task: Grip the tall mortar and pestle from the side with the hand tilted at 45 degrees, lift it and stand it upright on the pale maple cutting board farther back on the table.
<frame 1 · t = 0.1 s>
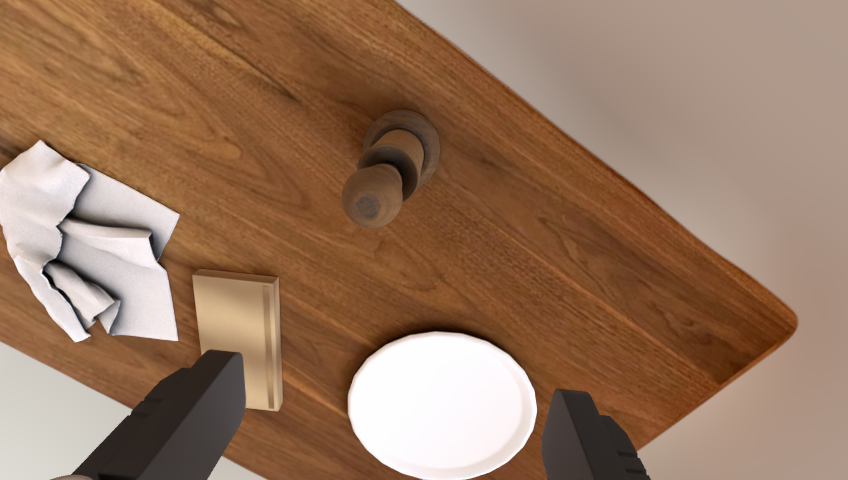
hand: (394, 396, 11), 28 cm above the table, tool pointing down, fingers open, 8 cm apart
cutting board: (244, 339, 44), on the table
cloth: (97, 260, 42), on the table
mortar and pestle: (403, 148, 36), on the table
plate: (441, 404, 46), on the table
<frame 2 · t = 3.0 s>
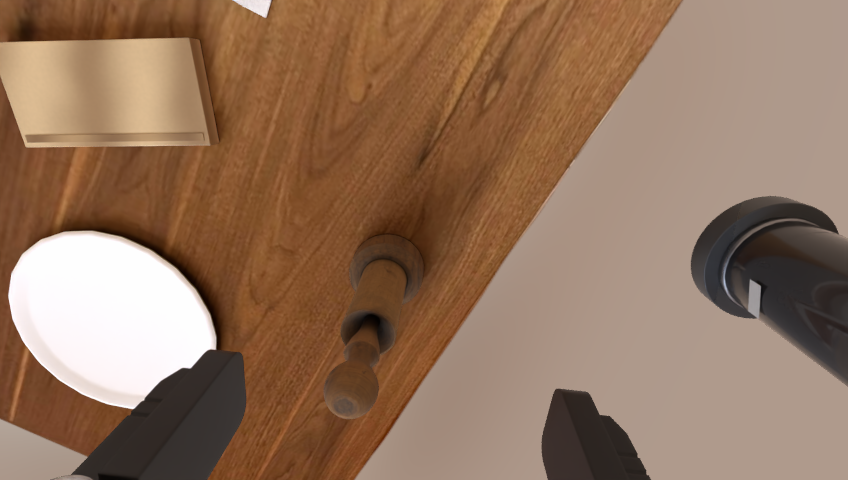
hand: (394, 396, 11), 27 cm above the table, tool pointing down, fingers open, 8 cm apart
cutting board: (116, 94, 34), on the table
mortar and pestle: (388, 264, 39), on the table
plate: (122, 321, 42), on the table
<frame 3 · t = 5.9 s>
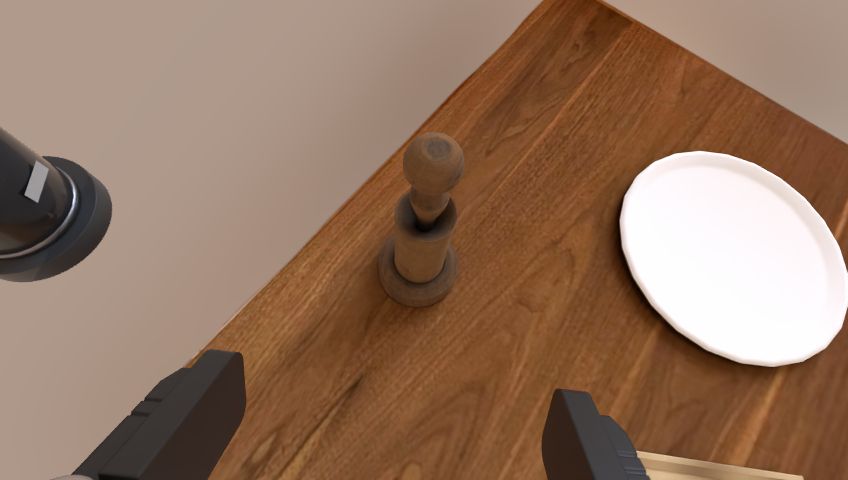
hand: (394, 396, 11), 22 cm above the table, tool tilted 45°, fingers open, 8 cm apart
mortar and pestle: (417, 271, 36), on the table
plate: (723, 252, 38), on the table
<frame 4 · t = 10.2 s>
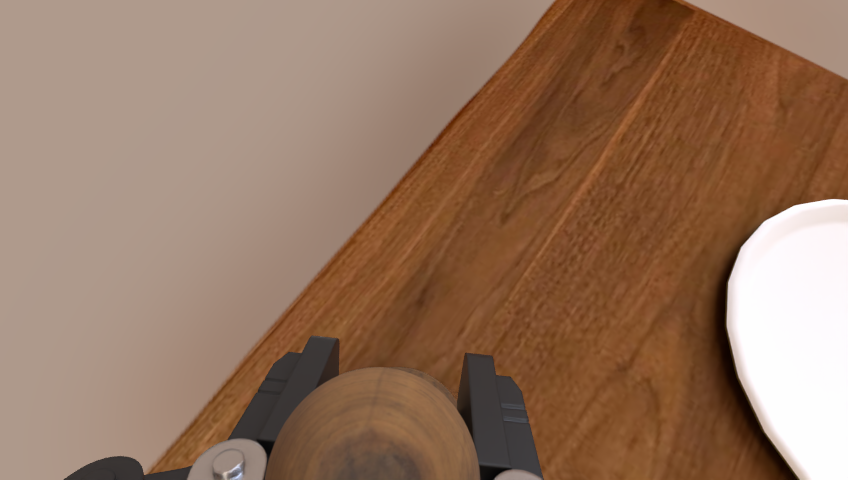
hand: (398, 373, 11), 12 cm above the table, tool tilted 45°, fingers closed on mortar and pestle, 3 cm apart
mortar and pestle: (398, 436, 21), on the table, touching gripper
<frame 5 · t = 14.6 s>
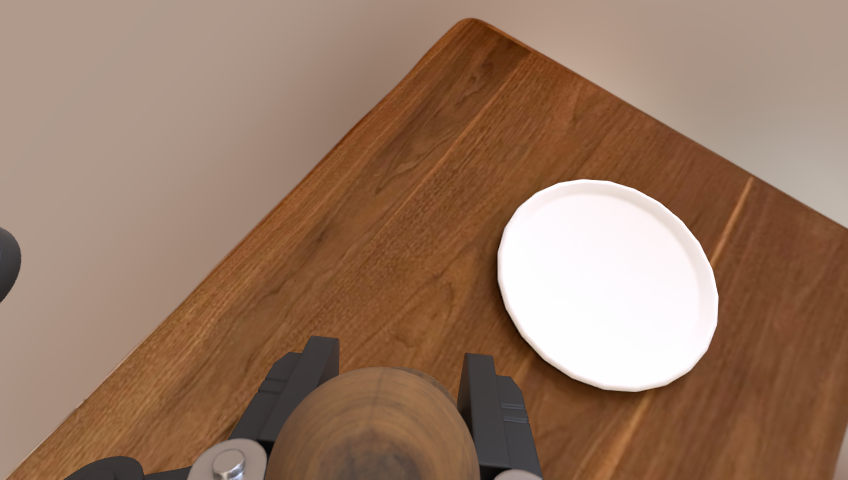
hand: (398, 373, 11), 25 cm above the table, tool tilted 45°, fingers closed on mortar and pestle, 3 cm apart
mortar and pestle: (397, 436, 21), point 13 cm above the table, touching gripper
plate: (601, 278, 40), on the table
when the fingers open (13 cm above the table, at t = 19.3 s): mortar and pestle stays where it is, resting on cutting board.
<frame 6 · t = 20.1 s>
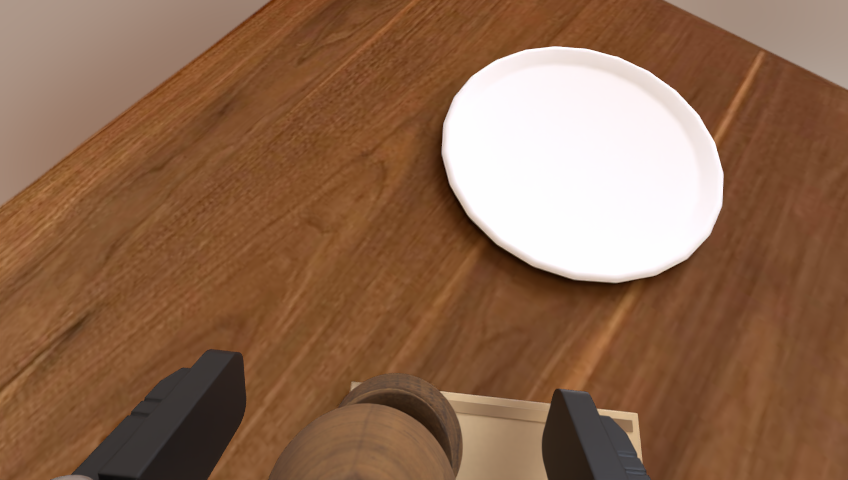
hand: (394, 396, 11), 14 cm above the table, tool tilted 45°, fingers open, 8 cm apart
cutting board: (486, 476, 23), on the table
mortar and pestle: (396, 440, 22), point 1 cm above the table, touching cutting board
plate: (575, 158, 32), on the table
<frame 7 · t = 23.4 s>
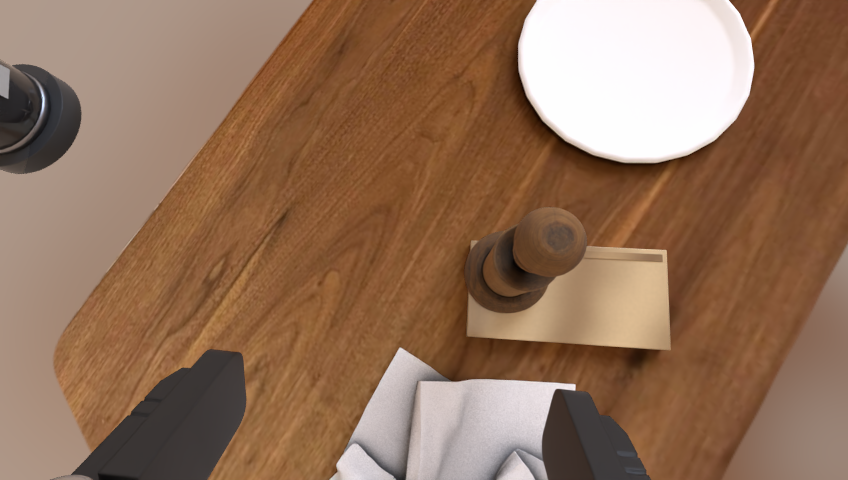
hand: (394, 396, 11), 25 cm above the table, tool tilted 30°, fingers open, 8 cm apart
cutting board: (562, 294, 35), on the table
cloth: (465, 472, 33), on the table
mortar and pestle: (503, 273, 34), point 1 cm above the table, touching cutting board
plate: (627, 63, 39), on the table
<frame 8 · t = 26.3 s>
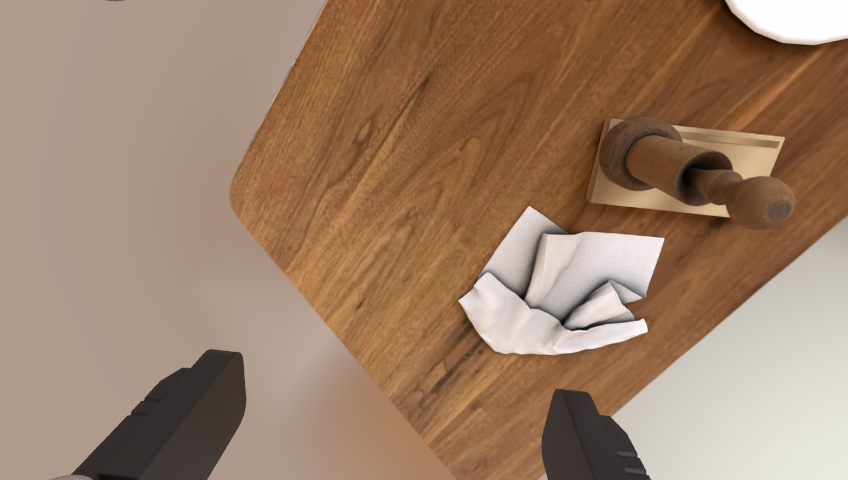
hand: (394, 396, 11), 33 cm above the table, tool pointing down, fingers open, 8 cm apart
cutting board: (675, 168, 40), on the table
cloth: (566, 291, 46), on the table
mortar and pestle: (633, 151, 39), point 1 cm above the table, touching cutting board
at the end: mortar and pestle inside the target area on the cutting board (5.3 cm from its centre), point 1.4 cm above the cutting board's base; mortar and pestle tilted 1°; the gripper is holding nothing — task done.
